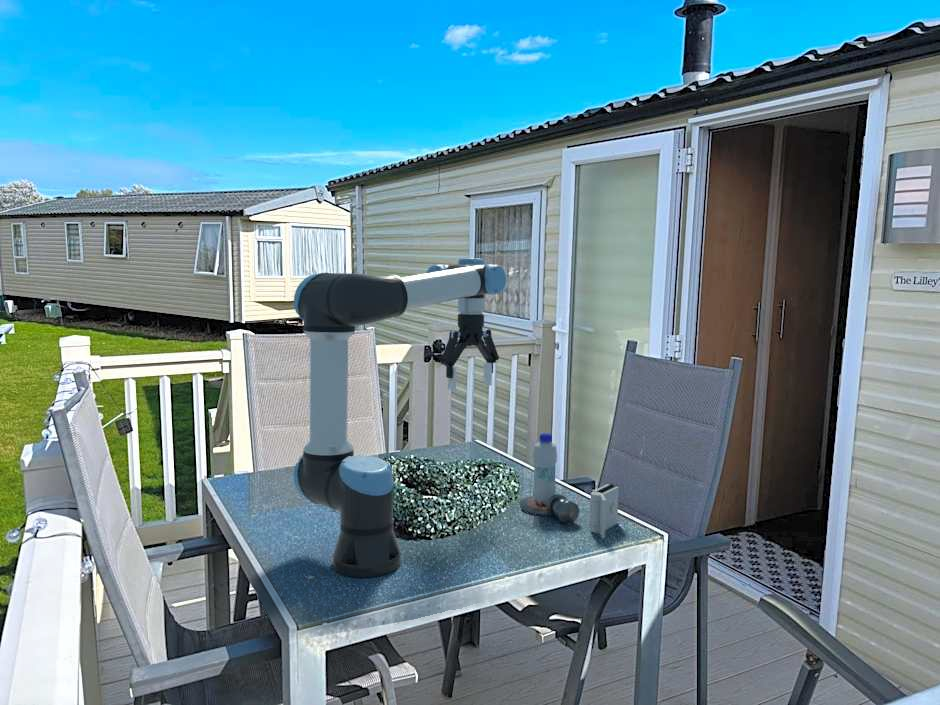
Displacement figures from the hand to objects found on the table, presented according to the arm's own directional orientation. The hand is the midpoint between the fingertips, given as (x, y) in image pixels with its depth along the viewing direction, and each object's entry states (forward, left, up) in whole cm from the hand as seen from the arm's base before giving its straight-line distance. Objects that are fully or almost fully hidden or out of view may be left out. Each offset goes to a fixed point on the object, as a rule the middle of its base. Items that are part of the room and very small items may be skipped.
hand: (470, 387), depth 195 cm
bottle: (-15, -17, -32) cm, 39 cm away
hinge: (-35, -24, -33) cm, 54 cm away
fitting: (-18, -17, -33) cm, 41 cm away
